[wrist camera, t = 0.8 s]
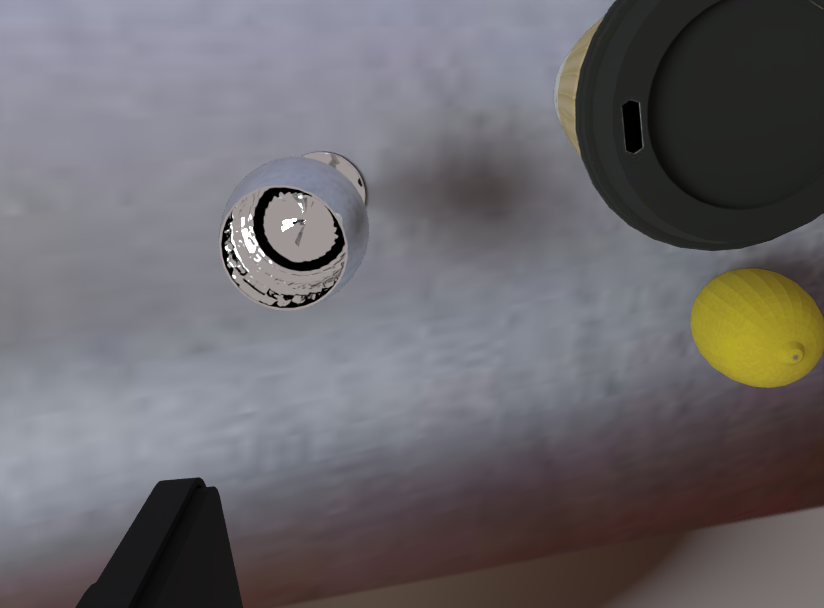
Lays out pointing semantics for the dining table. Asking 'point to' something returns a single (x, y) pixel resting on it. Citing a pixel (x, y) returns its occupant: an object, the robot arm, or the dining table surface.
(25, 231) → the dining table surface
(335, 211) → the wineglass
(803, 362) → the lemon
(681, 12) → the coffee cup
